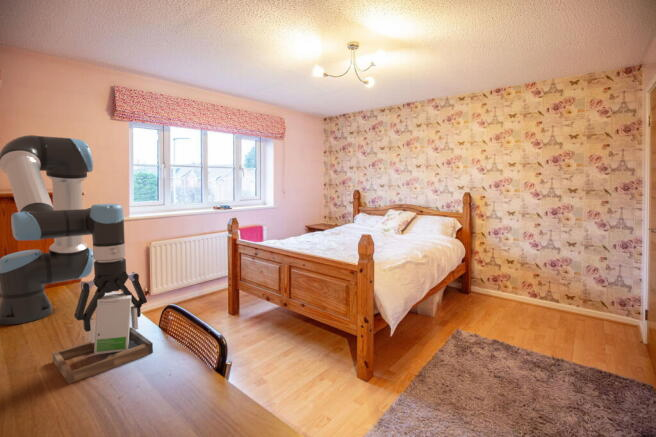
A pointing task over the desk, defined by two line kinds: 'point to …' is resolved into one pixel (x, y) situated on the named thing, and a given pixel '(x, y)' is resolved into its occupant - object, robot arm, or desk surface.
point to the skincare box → (112, 323)
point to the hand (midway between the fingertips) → (114, 334)
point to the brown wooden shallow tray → (111, 361)
